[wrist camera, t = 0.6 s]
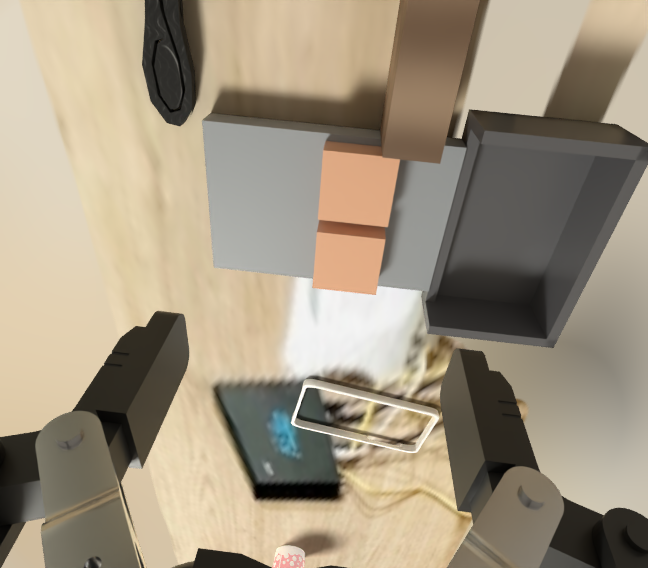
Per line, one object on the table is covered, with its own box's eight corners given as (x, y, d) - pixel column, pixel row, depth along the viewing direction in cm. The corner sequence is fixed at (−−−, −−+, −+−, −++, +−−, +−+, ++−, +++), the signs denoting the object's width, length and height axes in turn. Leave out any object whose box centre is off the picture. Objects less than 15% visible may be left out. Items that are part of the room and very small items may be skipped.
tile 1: (325, 140, 30) (323, 150, 29) (398, 148, 30) (400, 158, 28) (320, 207, 33) (317, 219, 31) (386, 214, 33) (387, 227, 31)
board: (210, 112, 32) (202, 120, 30) (461, 138, 31) (466, 147, 30) (220, 255, 39) (213, 267, 37) (426, 277, 38) (428, 291, 37)
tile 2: (319, 219, 34) (316, 231, 32) (384, 226, 34) (385, 239, 32) (315, 273, 37) (312, 287, 35) (375, 280, 36) (375, 294, 35)
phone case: (439, 405, 48) (306, 373, 47) (441, 415, 47) (304, 383, 46) (414, 444, 52) (291, 416, 51) (415, 454, 51) (290, 425, 50)
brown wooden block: (421, -138, 24) (435, -168, 19) (487, -132, 24) (518, -159, 19) (380, 129, 32) (382, 157, 27) (428, 134, 32) (440, 163, 27)
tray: (469, 109, 30) (484, 130, 26) (617, 124, 30) (656, 148, 26) (421, 296, 39) (427, 333, 35) (534, 308, 39) (553, 347, 35)
